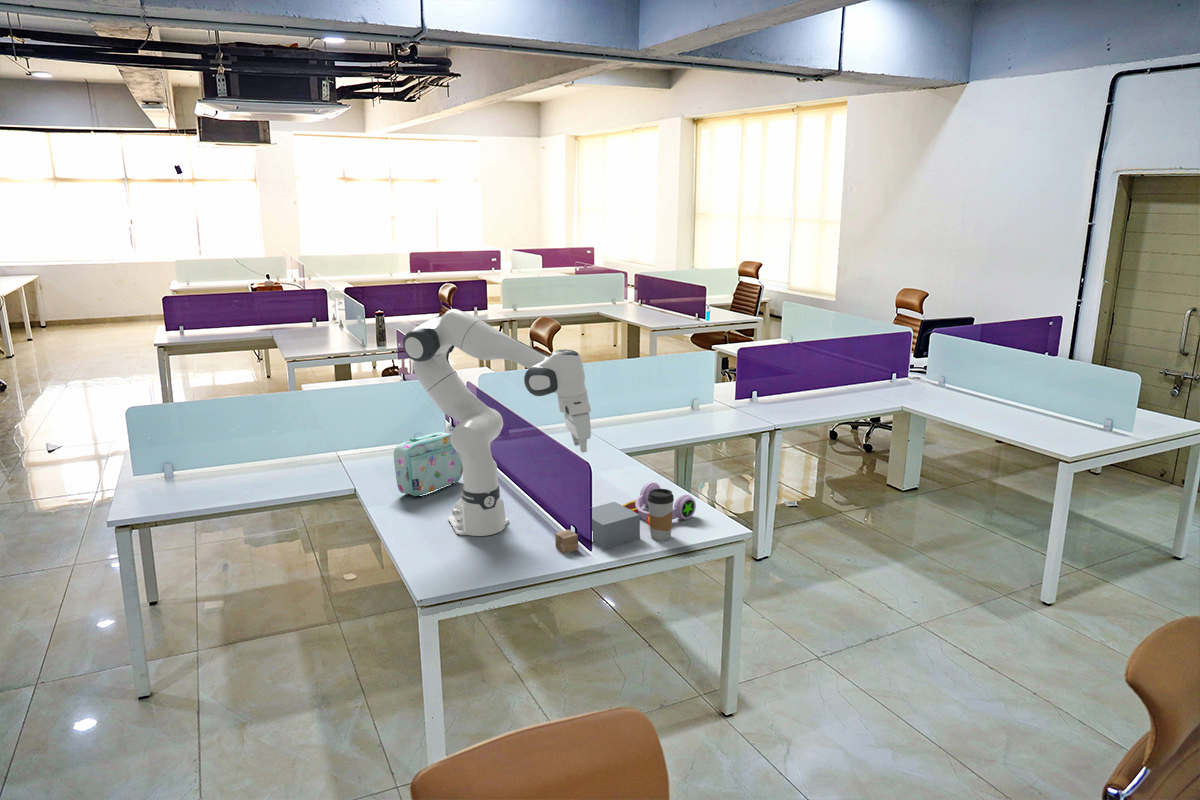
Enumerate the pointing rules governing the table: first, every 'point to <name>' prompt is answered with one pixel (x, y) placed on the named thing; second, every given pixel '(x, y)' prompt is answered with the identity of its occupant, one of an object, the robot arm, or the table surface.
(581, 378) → the robot arm
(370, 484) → the table surface
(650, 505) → the coffee cup
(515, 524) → the table surface
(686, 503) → the headphones
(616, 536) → the desk box
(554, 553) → the table surface
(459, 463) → the lunch box
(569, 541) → the walnut block
